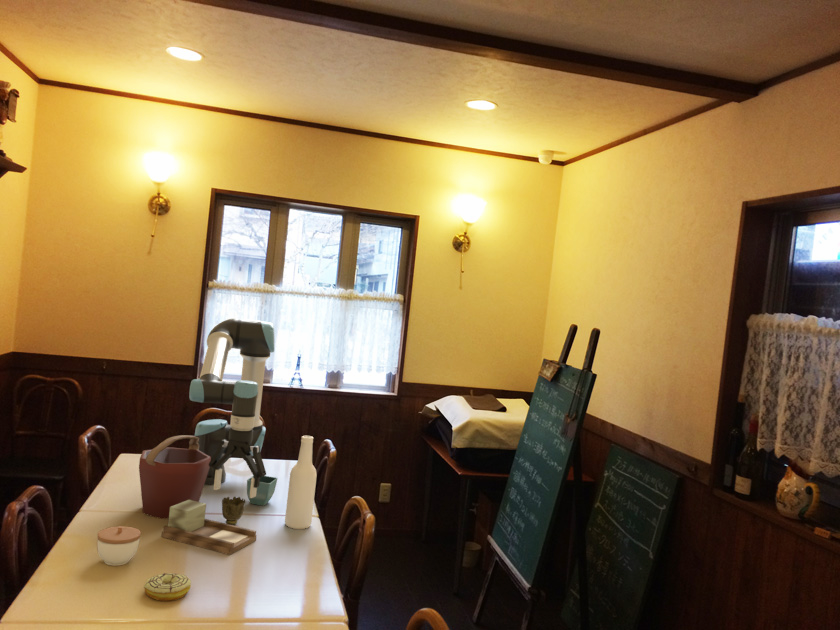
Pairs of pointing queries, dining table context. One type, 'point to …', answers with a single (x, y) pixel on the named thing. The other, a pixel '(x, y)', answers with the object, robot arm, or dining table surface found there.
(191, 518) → the brown wooden tray
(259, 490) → the flower pot
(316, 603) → the dining table surface
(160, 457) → the bucket
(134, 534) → the lidded jar
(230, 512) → the cup
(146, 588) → the decorated donut
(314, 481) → the alcohol
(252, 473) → the robot arm
